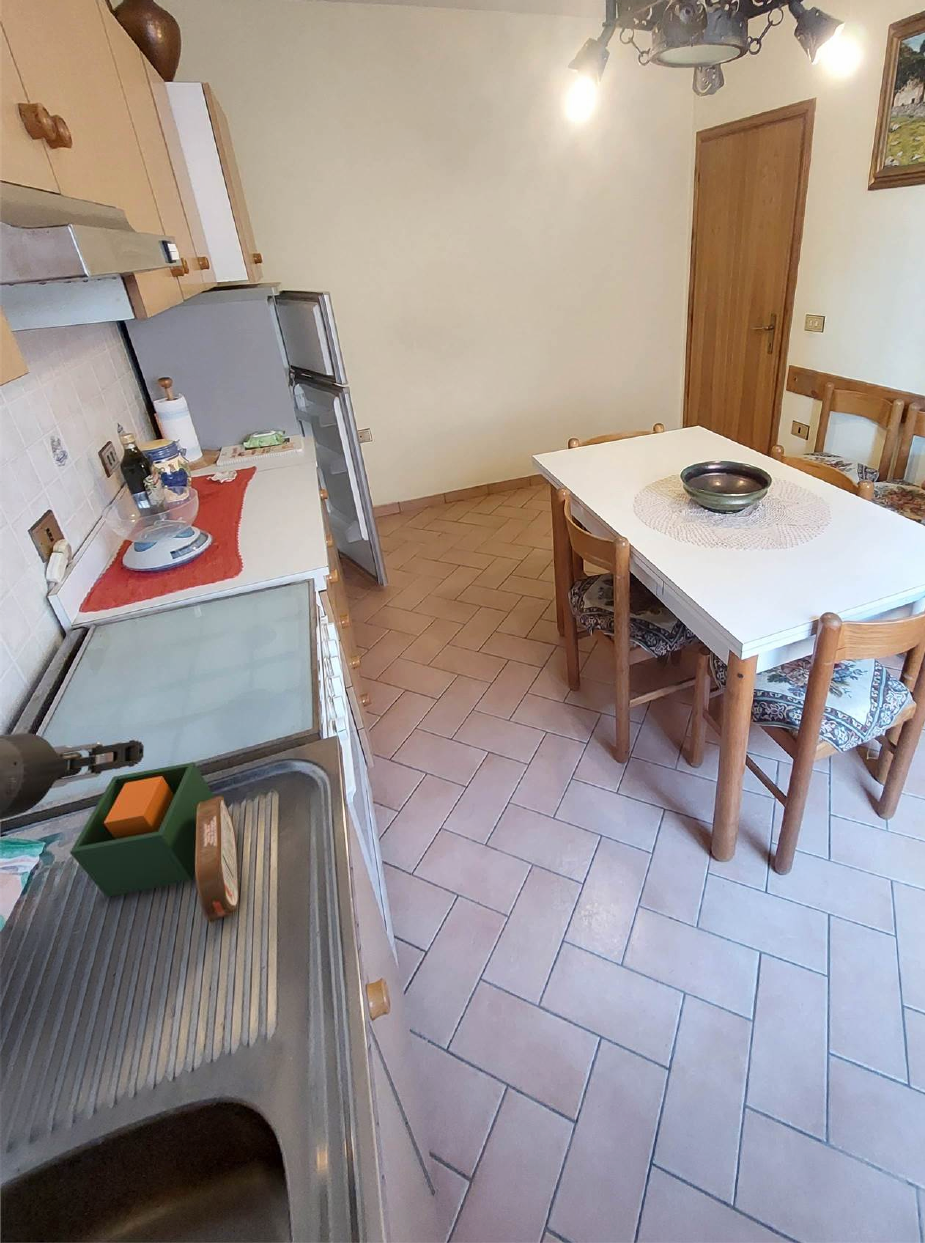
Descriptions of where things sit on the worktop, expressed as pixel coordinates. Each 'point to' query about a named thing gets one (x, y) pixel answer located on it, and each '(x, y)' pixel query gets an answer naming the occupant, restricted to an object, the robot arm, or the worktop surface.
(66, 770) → the robot arm
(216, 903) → the tin
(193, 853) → the waste bin
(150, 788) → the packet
